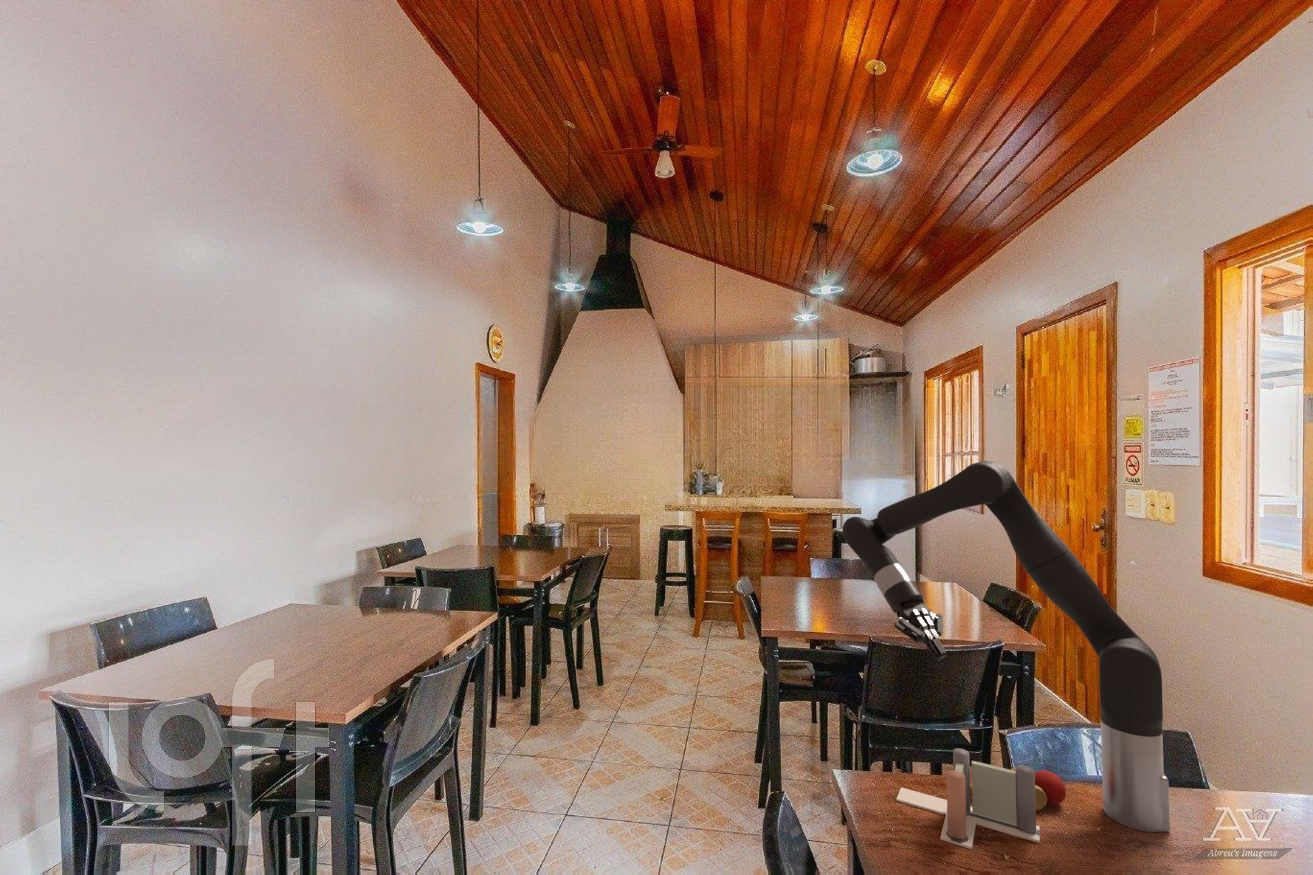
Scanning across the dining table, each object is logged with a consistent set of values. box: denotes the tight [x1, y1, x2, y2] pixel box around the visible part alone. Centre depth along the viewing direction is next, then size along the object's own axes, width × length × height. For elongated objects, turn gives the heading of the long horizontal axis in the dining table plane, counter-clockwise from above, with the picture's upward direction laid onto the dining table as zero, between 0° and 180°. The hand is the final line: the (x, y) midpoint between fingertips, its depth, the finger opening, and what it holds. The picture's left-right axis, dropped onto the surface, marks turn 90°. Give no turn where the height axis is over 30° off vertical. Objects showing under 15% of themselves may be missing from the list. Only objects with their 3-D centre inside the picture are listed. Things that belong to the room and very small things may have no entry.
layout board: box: [895, 787, 1041, 850], centre depth 110 cm, size 24×14×1 cm, turn 57°
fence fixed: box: [952, 748, 1037, 832], centre depth 111 cm, size 13×3×11 cm, turn 57°
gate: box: [946, 763, 966, 839], centre depth 109 cm, size 9×3×10 cm, turn 147°
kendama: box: [970, 766, 1067, 811], centre depth 118 cm, size 8×6×18 cm
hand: (942, 657), depth 126 cm, fingers closed
